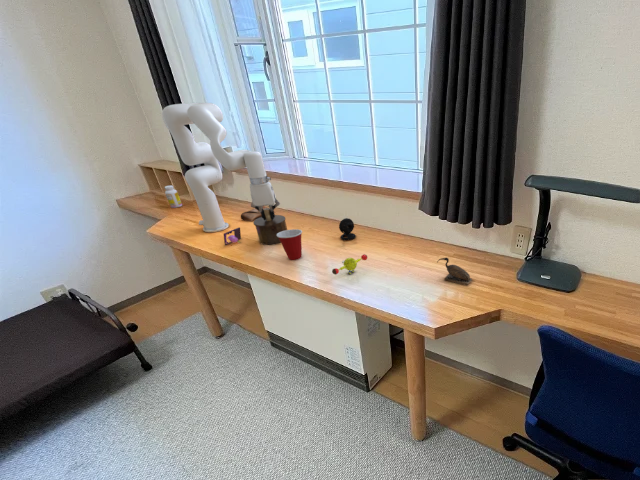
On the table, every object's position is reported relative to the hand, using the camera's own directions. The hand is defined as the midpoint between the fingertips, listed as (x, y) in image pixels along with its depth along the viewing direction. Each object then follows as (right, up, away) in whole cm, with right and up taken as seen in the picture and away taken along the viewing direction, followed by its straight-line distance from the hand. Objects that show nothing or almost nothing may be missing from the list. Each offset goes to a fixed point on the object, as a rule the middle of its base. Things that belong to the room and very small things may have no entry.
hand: (269, 218), depth 175 cm
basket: (0, -9, +6) cm, 11 cm away
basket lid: (0, -1, +1) cm, 1 cm away
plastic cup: (+17, -20, -12) cm, 29 cm away
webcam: (+38, -9, +5) cm, 39 cm away
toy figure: (+45, -29, -27) cm, 60 cm away
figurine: (+87, -31, -33) cm, 98 cm away
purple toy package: (-18, -11, +4) cm, 22 cm away
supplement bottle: (-83, +20, +56) cm, 103 cm away
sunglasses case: (-21, +10, +36) cm, 43 cm away
